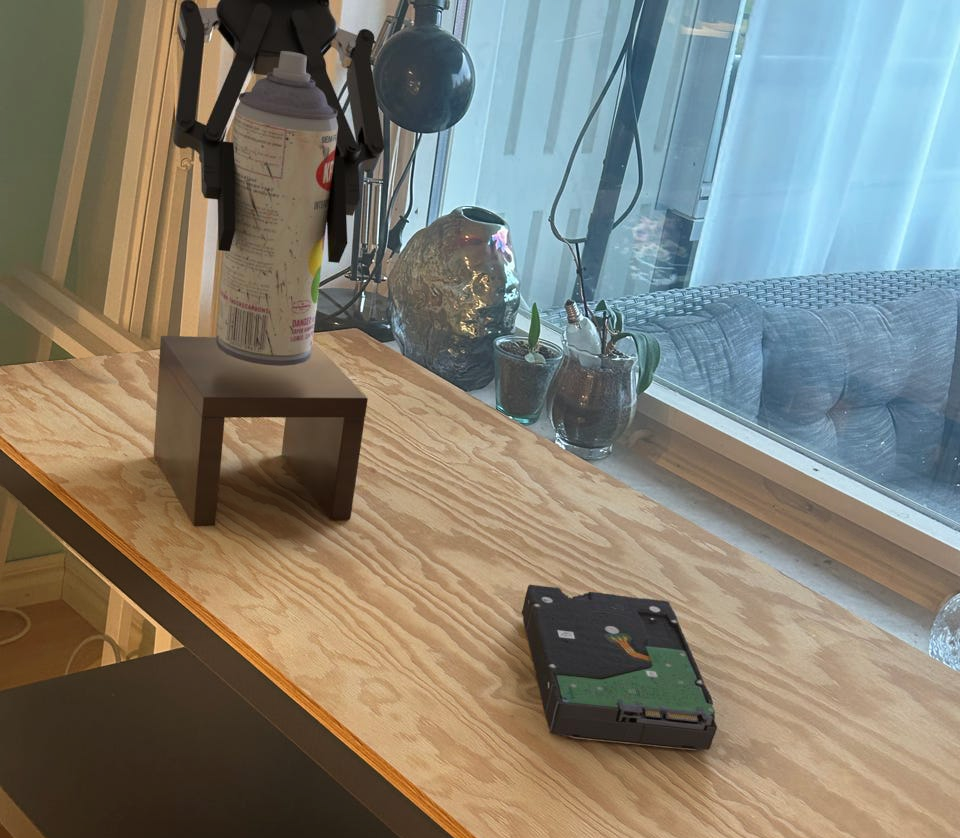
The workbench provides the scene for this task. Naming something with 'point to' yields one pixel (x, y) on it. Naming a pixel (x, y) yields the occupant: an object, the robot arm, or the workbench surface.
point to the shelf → (246, 394)
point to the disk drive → (616, 670)
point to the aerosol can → (277, 217)
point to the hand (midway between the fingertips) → (283, 246)
